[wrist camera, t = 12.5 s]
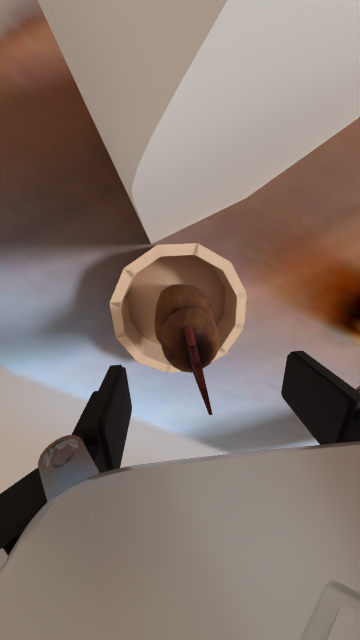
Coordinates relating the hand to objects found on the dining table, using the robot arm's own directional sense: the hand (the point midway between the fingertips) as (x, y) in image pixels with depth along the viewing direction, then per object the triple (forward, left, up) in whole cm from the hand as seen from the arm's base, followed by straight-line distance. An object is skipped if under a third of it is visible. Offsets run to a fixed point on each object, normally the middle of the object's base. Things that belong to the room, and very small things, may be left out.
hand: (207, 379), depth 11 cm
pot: (0, +1, -15) cm, 15 cm away
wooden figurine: (0, 0, -14) cm, 14 cm away
